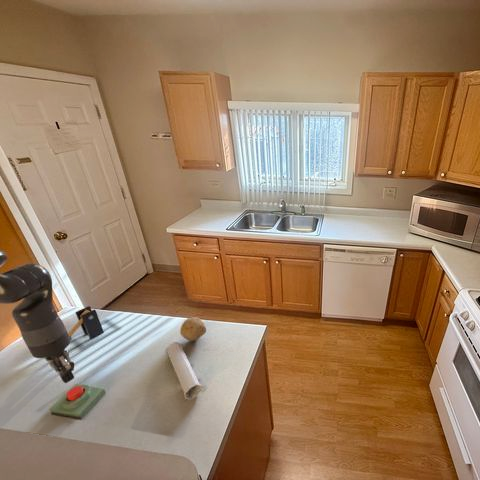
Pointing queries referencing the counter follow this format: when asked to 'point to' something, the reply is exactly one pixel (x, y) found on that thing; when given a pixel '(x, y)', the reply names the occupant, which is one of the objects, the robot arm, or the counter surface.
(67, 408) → the button block
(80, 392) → the button
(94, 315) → the bracket
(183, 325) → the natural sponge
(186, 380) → the tube
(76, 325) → the switch lever
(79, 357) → the counter surface
